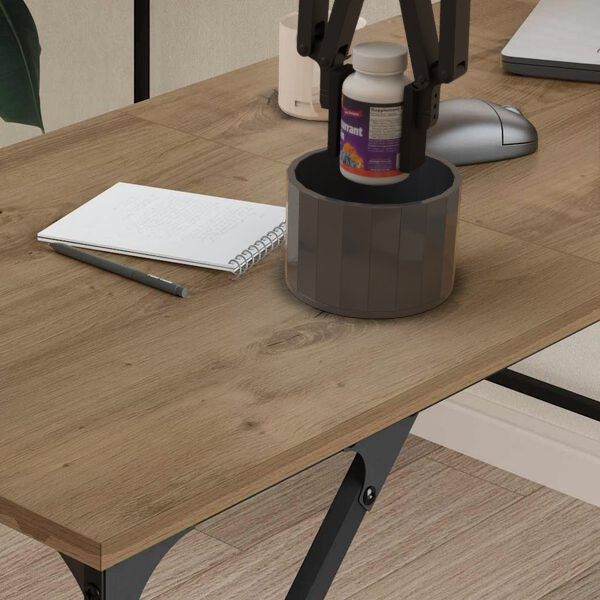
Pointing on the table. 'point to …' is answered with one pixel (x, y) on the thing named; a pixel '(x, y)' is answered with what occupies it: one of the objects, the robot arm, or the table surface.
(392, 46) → the pill bottle
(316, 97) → the mug
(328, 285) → the canister
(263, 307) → the table surface
